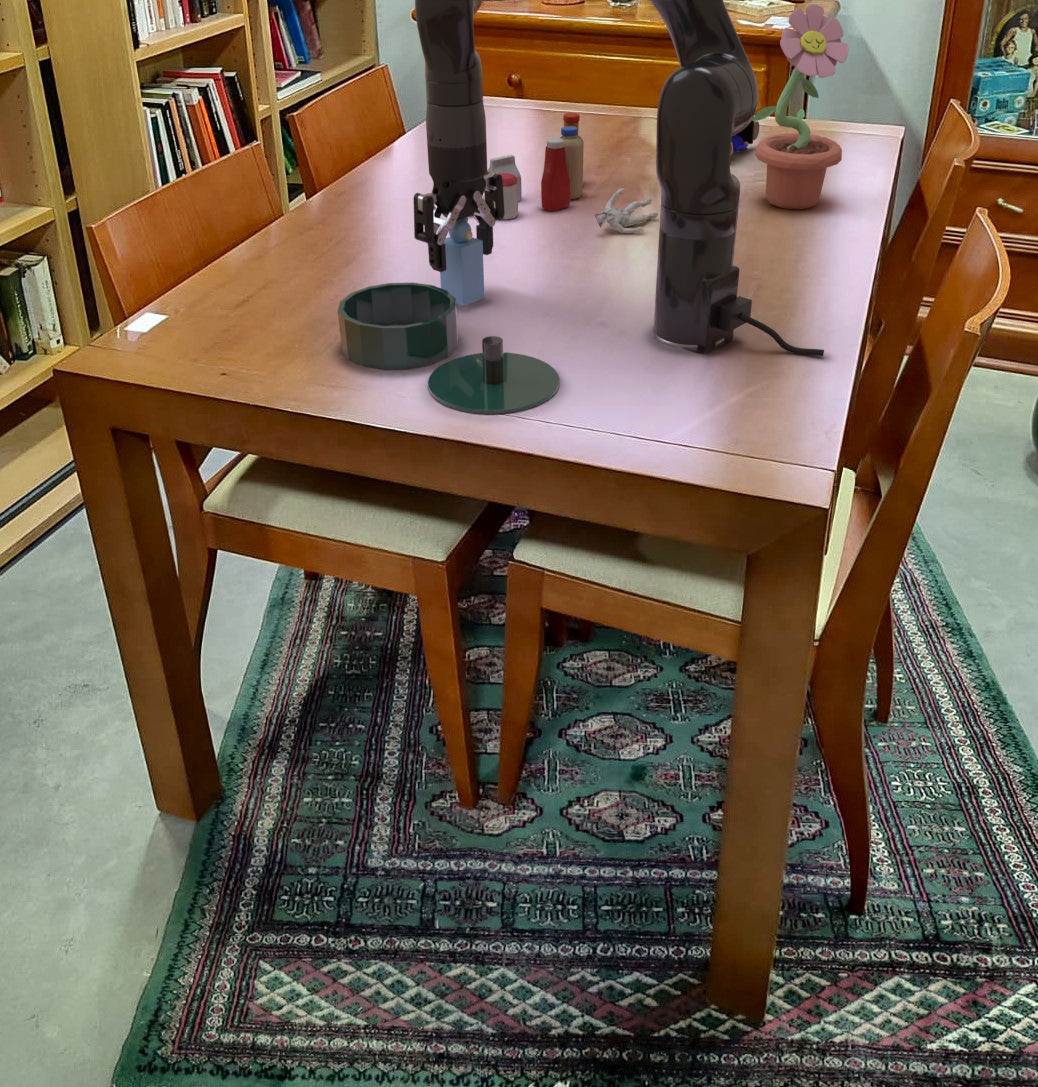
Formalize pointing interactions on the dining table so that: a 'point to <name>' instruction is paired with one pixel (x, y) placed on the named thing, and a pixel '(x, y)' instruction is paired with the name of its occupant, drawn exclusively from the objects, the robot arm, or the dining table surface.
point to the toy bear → (463, 265)
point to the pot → (398, 345)
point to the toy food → (548, 171)
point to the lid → (493, 381)
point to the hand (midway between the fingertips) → (462, 261)
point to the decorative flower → (802, 113)
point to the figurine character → (745, 137)
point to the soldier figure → (623, 215)
